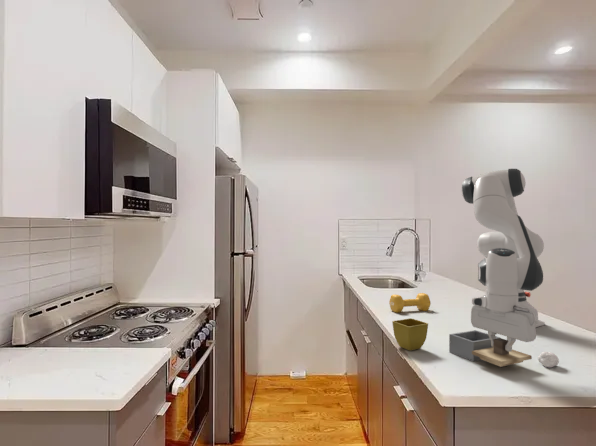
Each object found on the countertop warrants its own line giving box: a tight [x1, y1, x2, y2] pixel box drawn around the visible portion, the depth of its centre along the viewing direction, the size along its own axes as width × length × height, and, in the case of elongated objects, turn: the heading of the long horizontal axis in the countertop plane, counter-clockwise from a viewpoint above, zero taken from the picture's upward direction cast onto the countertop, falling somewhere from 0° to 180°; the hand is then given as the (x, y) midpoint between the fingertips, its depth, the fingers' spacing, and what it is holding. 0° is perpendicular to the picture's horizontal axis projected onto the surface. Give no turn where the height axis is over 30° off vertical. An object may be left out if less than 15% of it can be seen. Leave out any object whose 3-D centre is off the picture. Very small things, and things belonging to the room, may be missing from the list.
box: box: [448, 329, 501, 362], centre depth 138 cm, size 12×10×6 cm
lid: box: [472, 337, 532, 368], centre depth 127 cm, size 13×11×6 cm
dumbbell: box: [389, 292, 432, 314], centre depth 203 cm, size 19×9×8 cm, turn 105°
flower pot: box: [392, 318, 429, 352], centre depth 145 cm, size 9×9×9 cm
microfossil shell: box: [537, 351, 560, 368], centre depth 128 cm, size 4×5×6 cm
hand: (501, 348), depth 127 cm, fingers closed on lid, 3 cm apart
